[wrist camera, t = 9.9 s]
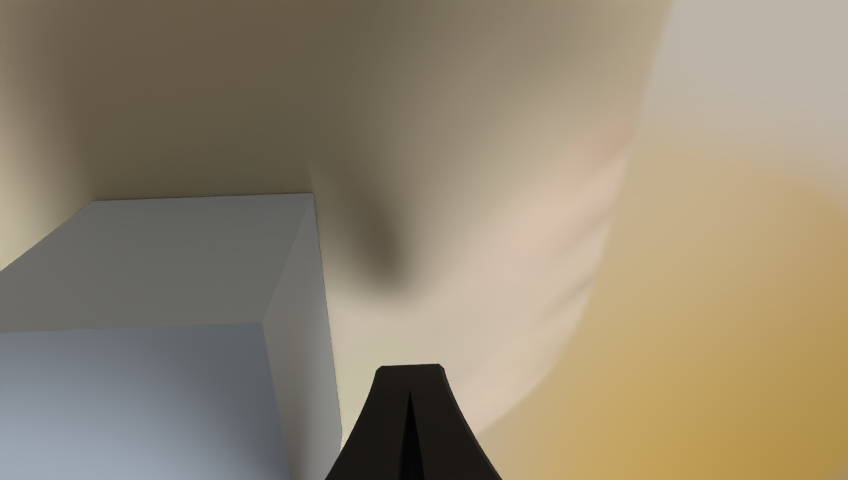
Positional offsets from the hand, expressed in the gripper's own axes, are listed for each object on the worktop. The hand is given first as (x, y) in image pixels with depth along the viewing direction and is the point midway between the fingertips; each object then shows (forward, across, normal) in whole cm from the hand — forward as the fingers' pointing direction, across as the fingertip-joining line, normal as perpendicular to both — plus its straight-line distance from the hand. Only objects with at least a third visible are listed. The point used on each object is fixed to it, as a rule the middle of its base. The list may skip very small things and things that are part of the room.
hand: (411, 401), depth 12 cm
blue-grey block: (+3, +5, 0) cm, 5 cm away
